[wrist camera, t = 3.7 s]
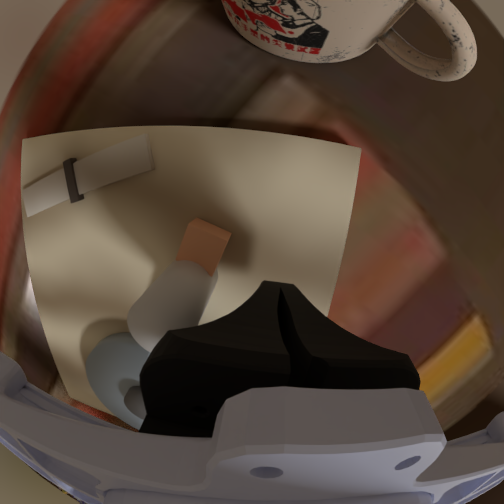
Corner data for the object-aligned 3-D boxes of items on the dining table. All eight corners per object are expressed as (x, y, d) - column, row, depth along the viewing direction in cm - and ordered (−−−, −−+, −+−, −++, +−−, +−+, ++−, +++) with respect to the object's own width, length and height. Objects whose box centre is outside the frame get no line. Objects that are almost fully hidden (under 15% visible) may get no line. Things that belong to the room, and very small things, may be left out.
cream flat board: (279, 439, 20) (279, 456, 18) (75, 389, 20) (66, 400, 18) (353, 149, 12) (365, 147, 10) (34, 138, 13) (16, 139, 11)
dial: (199, 442, 19) (187, 489, 14) (92, 392, 18) (65, 432, 13) (311, 269, 13) (329, 328, 8) (124, 185, 12) (57, 202, 8)
